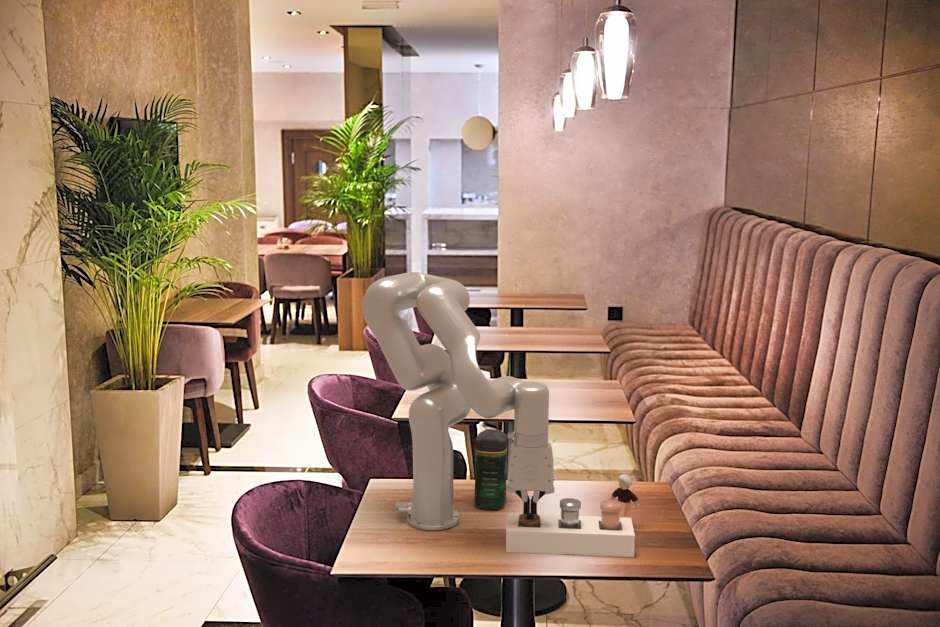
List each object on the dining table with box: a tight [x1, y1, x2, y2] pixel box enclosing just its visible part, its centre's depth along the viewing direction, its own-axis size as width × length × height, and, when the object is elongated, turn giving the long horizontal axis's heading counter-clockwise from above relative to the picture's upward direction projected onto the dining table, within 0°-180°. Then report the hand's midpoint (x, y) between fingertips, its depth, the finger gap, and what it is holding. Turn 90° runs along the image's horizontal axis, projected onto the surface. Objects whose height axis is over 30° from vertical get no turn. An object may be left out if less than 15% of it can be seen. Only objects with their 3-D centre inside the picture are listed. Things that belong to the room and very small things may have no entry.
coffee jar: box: [474, 428, 508, 511], centre depth 239 cm, size 10×8×19 cm
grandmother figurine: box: [609, 473, 641, 518], centre depth 226 cm, size 8×4×13 cm, turn 62°
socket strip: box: [505, 512, 636, 558], centre depth 216 cm, size 28×10×5 cm, turn 85°
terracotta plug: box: [599, 499, 622, 530], centre depth 214 cm, size 5×5×6 cm
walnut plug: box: [519, 513, 540, 527], centre depth 216 cm, size 5×5×6 cm
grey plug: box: [559, 497, 582, 529], centre depth 215 cm, size 5×5×6 cm
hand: (530, 516), depth 216 cm, fingers closed
